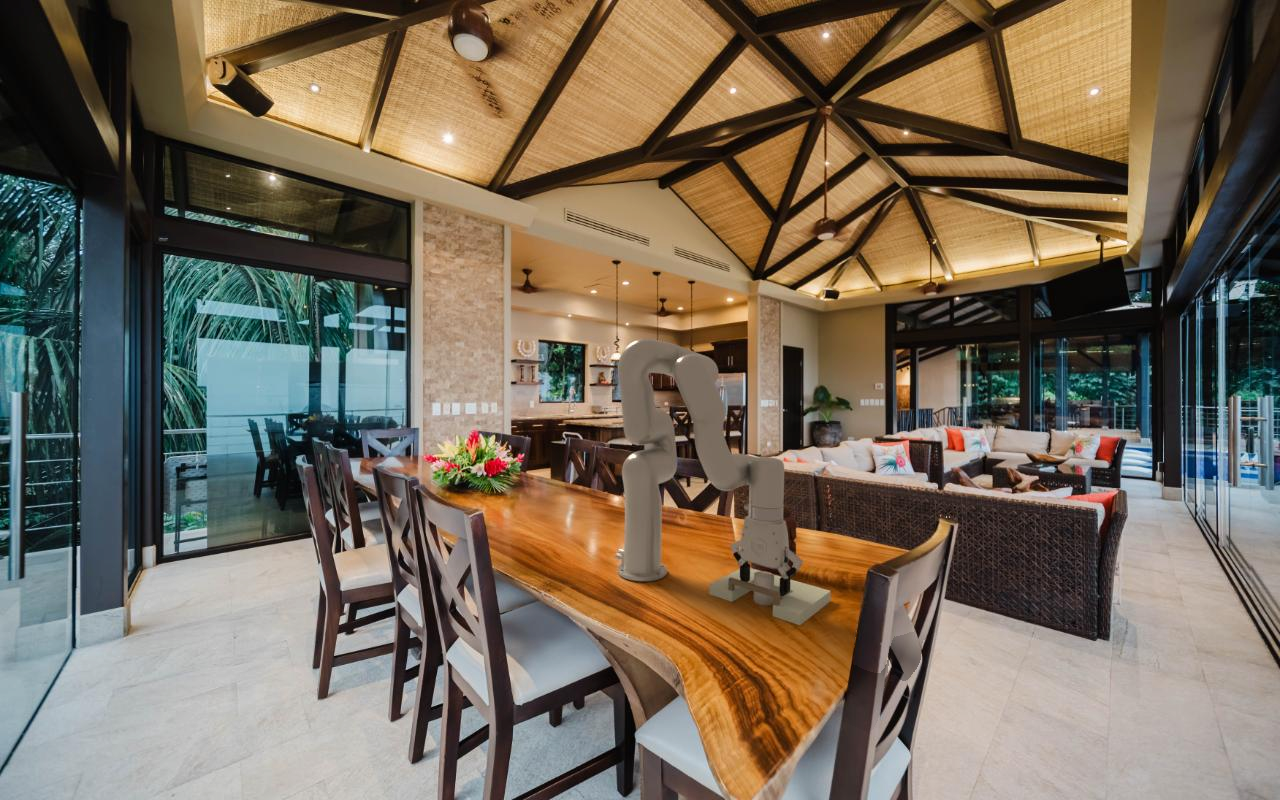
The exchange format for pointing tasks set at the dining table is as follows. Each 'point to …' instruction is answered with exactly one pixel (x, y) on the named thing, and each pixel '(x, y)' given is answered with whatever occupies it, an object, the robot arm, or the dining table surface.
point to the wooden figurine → (791, 537)
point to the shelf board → (775, 596)
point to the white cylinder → (767, 582)
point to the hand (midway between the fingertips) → (764, 588)
